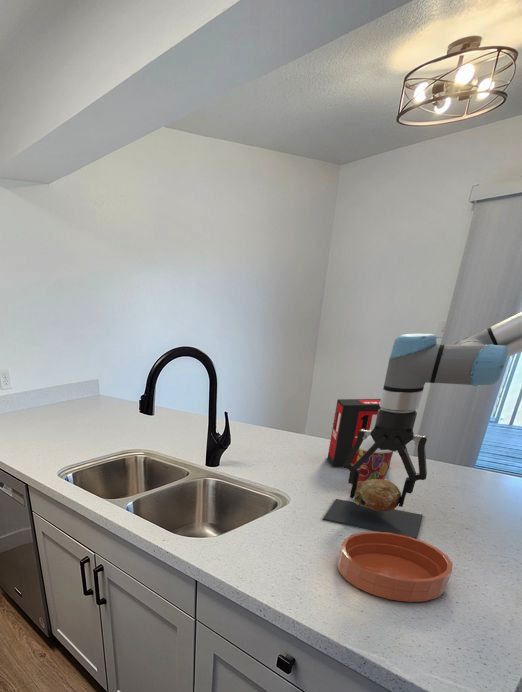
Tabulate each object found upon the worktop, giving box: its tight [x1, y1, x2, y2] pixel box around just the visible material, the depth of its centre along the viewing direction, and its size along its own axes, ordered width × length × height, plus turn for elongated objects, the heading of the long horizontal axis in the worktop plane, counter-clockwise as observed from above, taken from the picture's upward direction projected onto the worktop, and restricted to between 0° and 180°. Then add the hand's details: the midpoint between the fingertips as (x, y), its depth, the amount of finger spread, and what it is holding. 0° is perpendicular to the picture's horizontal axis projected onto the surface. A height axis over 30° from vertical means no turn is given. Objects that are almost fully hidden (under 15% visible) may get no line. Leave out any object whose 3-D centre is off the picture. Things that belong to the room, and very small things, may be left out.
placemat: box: [322, 498, 423, 539], centre depth 109 cm, size 20×14×1 cm
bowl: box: [336, 531, 454, 603], centre depth 86 cm, size 19×19×5 cm
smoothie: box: [357, 435, 394, 486], centre depth 117 cm, size 8×8×20 cm
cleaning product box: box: [327, 398, 391, 469], centre depth 140 cm, size 16×9×20 cm, turn 77°
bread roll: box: [353, 478, 402, 511], centre depth 106 cm, size 10×10×8 cm
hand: (376, 500), depth 107 cm, fingers closed on bread roll, 10 cm apart
